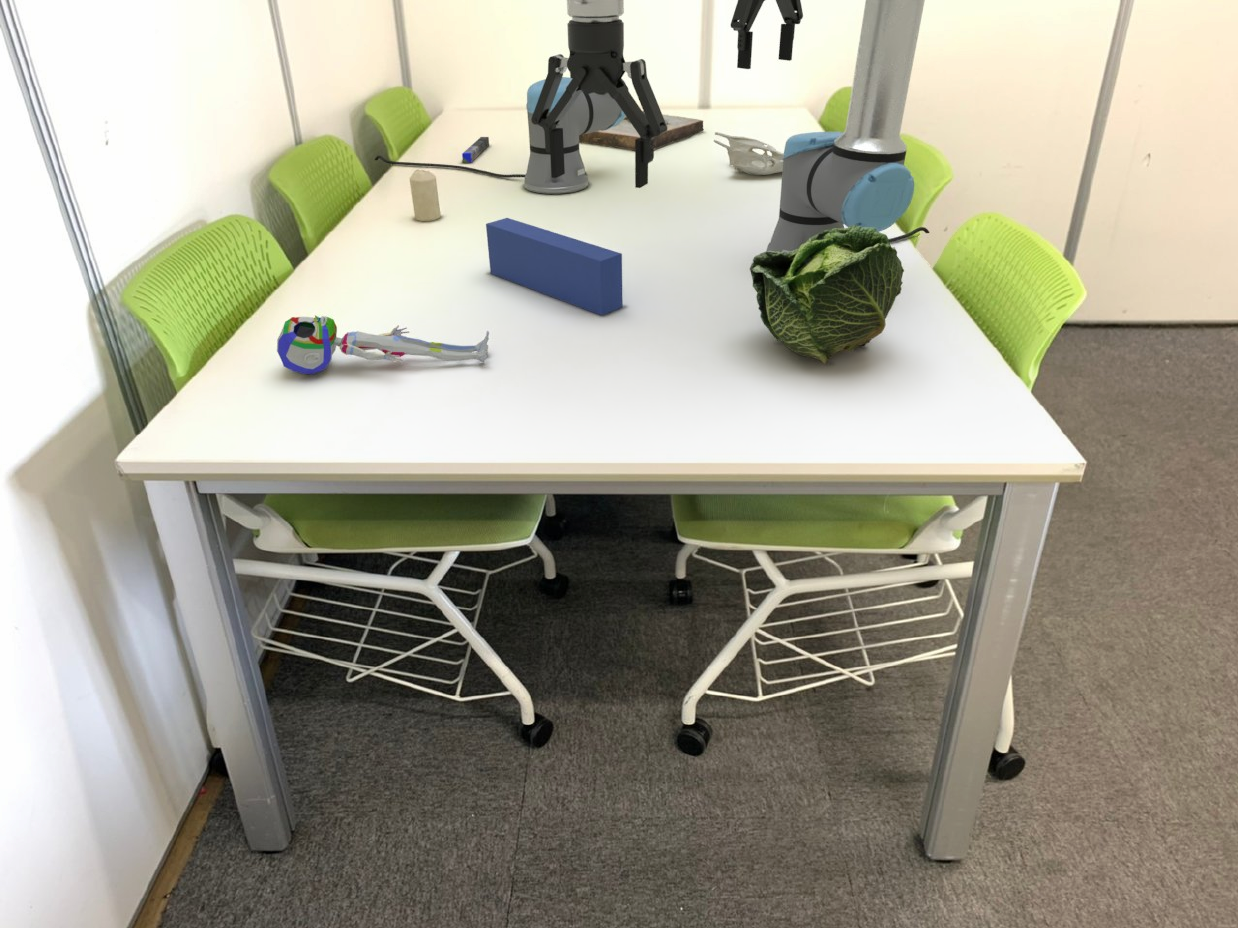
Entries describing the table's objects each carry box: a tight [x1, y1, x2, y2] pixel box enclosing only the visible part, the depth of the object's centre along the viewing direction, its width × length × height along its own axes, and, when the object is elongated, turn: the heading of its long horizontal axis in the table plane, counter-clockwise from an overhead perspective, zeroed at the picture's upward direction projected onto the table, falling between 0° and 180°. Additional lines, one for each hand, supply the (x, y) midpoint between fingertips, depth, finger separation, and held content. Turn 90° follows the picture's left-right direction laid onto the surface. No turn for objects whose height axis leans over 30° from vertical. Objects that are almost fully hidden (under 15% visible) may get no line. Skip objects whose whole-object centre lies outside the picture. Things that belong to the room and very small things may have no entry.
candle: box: [409, 169, 441, 222], centre depth 192 cm, size 6×6×10 cm
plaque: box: [579, 110, 705, 151], centre depth 257 cm, size 30×7×30 cm
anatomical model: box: [713, 131, 784, 176], centre depth 220 cm, size 15×9×25 cm
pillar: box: [461, 136, 490, 164], centre depth 243 cm, size 2×2×20 cm
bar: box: [485, 217, 624, 316], centre depth 156 cm, size 29×5×9 cm, turn 46°
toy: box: [276, 314, 490, 375], centre depth 132 cm, size 10×8×30 cm
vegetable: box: [749, 225, 905, 365], centre depth 131 cm, size 20×19×20 cm
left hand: (764, 64), depth 178 cm, fingers open, 13 cm apart
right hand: (599, 181), depth 130 cm, fingers open, 13 cm apart
